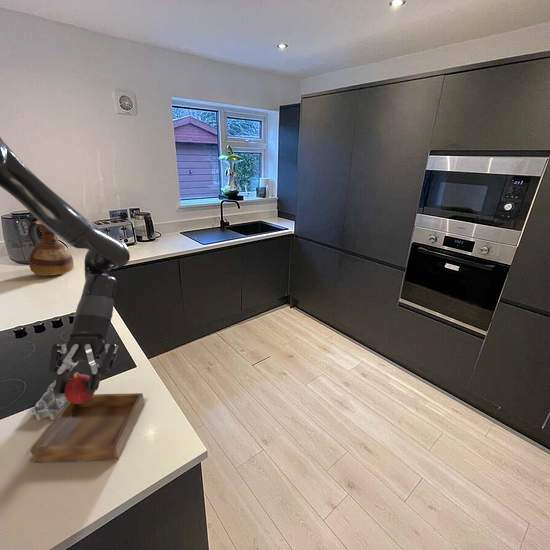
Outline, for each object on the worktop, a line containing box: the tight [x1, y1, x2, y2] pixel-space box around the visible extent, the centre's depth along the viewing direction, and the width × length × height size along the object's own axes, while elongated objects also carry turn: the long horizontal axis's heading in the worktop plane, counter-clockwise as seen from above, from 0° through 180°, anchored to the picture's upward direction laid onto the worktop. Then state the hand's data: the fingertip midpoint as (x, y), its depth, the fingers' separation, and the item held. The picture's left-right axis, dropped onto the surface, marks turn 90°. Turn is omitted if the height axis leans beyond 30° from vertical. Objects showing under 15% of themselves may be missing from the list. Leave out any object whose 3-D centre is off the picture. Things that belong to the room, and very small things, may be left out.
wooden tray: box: [29, 392, 146, 464], centre depth 69 cm, size 18×16×4 cm
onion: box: [65, 371, 95, 404], centre depth 64 cm, size 6×6×8 cm
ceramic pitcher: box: [28, 219, 75, 277], centre depth 157 cm, size 20×20×30 cm
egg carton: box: [29, 379, 69, 421], centre depth 76 cm, size 11×8×4 cm
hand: (75, 392), depth 62 cm, fingers closed on onion, 5 cm apart
